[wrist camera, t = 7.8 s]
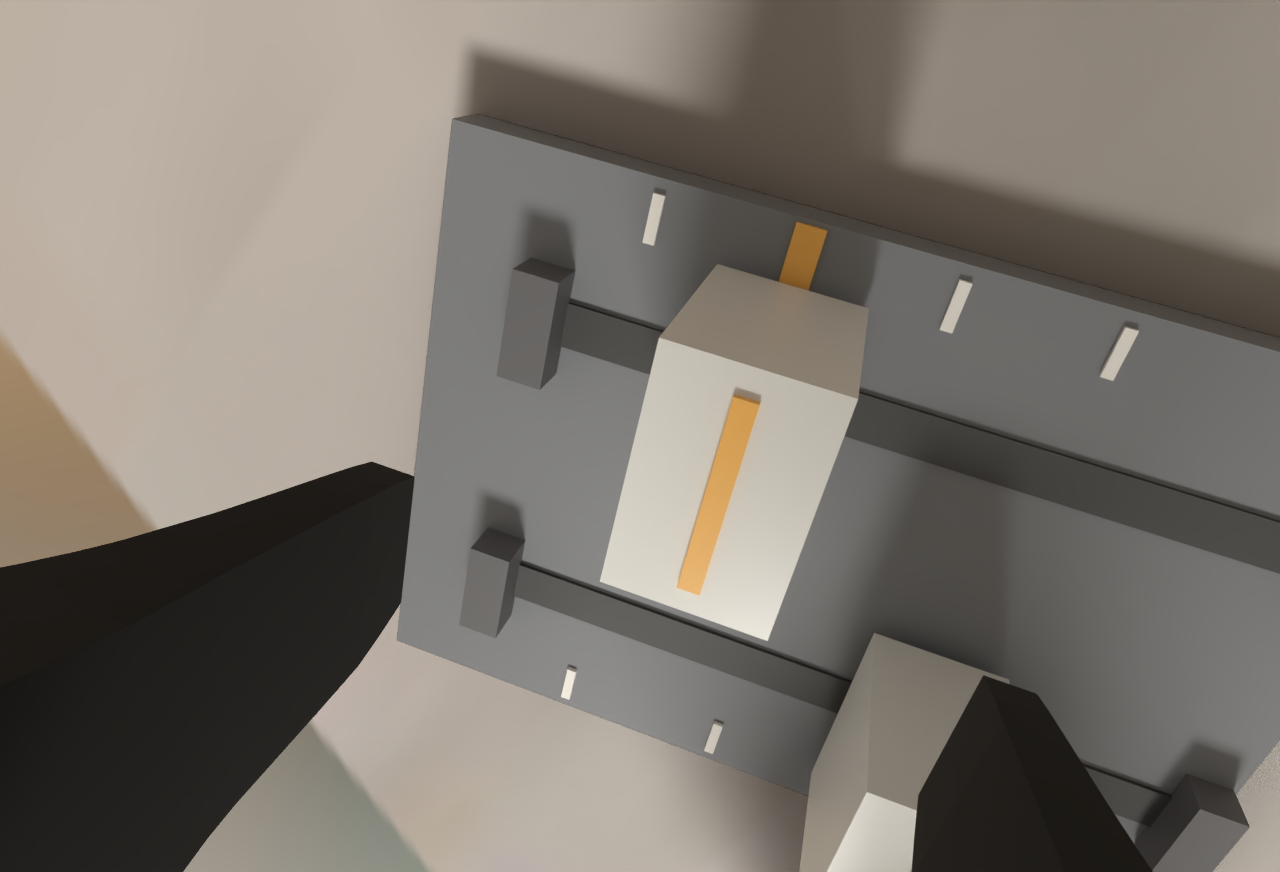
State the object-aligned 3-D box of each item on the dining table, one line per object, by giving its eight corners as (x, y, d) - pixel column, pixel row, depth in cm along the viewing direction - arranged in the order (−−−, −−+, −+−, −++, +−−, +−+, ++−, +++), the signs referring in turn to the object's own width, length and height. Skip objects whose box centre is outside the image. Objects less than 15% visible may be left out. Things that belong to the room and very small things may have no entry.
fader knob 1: (796, 508, 18) (766, 645, 14) (664, 464, 19) (597, 584, 15) (868, 308, 16) (857, 401, 12) (717, 264, 17) (657, 340, 13)
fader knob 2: (931, 817, 21) (938, 1010, 17) (811, 772, 21) (789, 949, 17) (1009, 679, 19) (1039, 861, 15) (874, 632, 19) (866, 797, 15)
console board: (1124, 877, 22) (1145, 958, 20) (417, 614, 25) (377, 663, 23) (1491, 397, 16) (1574, 448, 14) (477, 113, 18) (428, 123, 16)
